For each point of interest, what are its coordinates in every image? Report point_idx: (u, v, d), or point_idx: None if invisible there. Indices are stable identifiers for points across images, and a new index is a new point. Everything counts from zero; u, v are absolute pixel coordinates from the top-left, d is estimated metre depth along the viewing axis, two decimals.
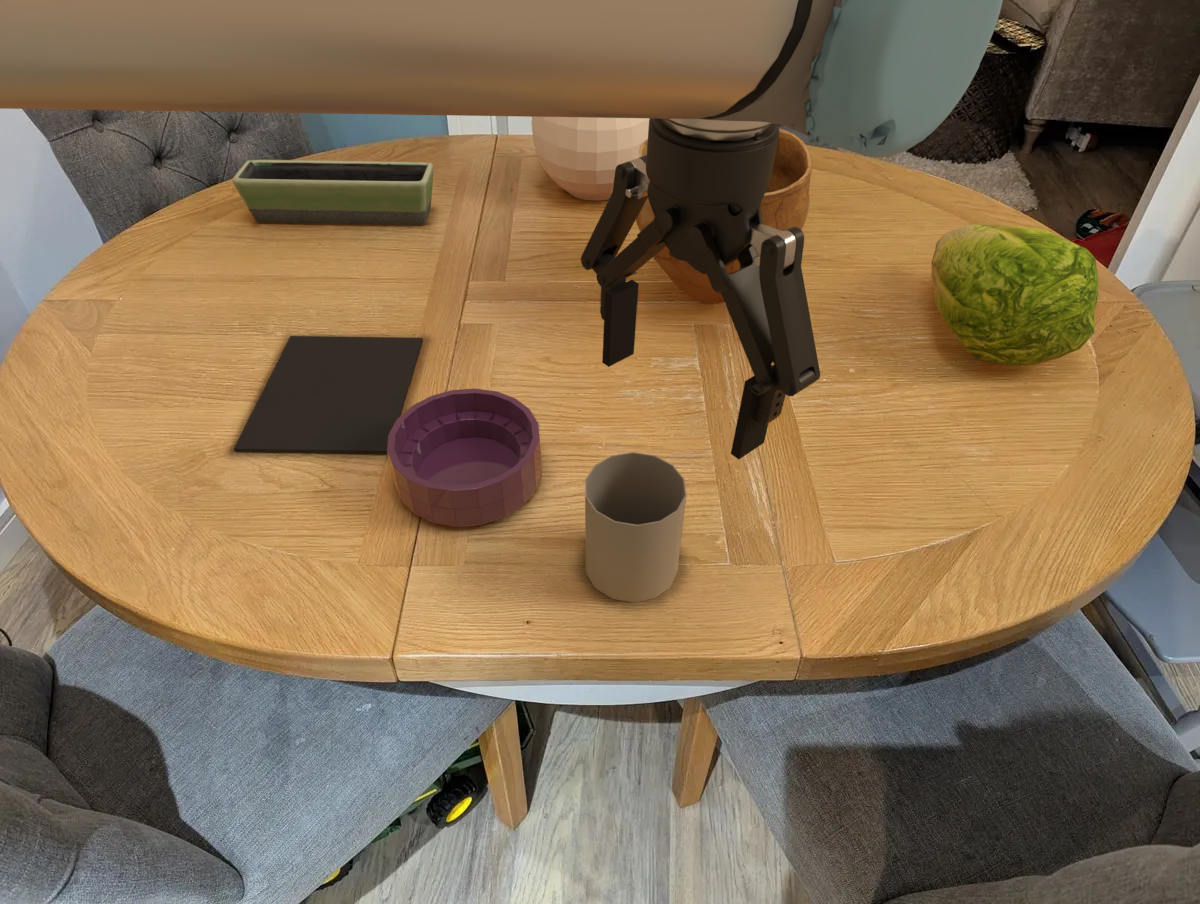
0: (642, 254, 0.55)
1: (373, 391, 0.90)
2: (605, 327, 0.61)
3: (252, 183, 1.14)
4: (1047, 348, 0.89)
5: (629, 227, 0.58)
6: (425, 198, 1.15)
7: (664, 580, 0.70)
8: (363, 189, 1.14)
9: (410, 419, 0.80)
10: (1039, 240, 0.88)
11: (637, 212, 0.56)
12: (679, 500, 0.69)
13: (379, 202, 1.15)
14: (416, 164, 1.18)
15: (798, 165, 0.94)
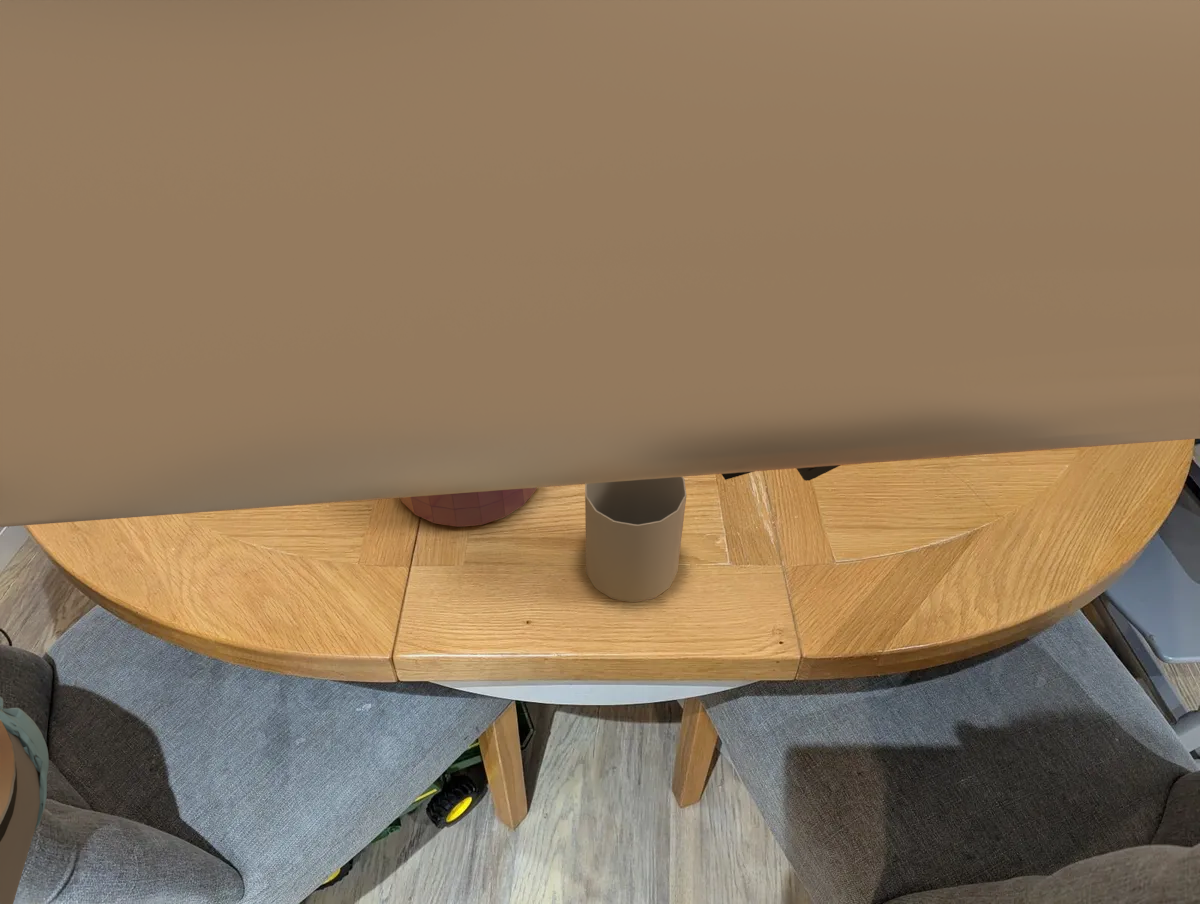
0: None
1: None
2: None
3: None
4: None
5: None
6: None
7: (664, 580, 0.70)
8: None
9: None
10: None
11: None
12: (679, 500, 0.69)
13: None
14: None
15: None
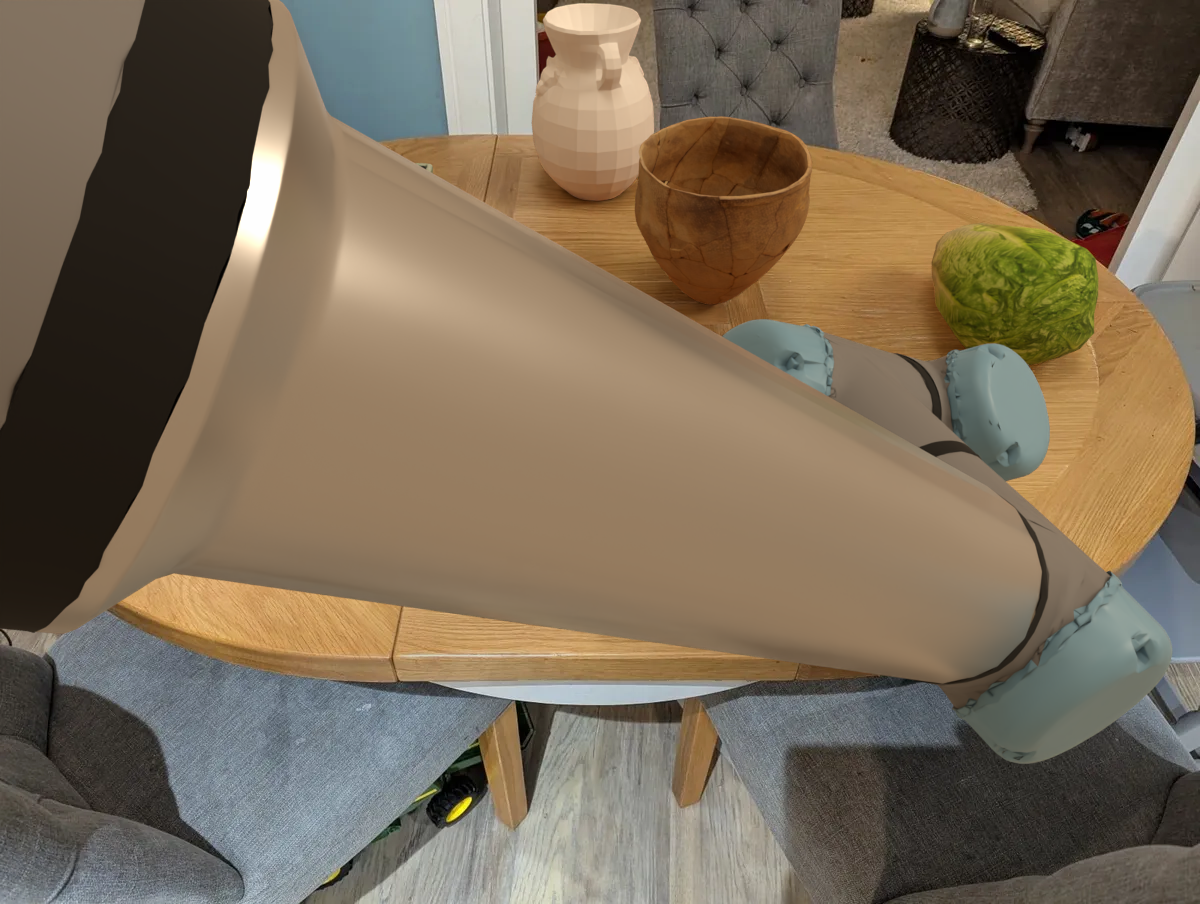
0: None
1: None
2: None
3: None
4: (1047, 348, 0.89)
5: None
6: None
7: None
8: None
9: None
10: (1039, 240, 0.88)
11: None
12: None
13: None
14: None
15: (798, 165, 0.94)
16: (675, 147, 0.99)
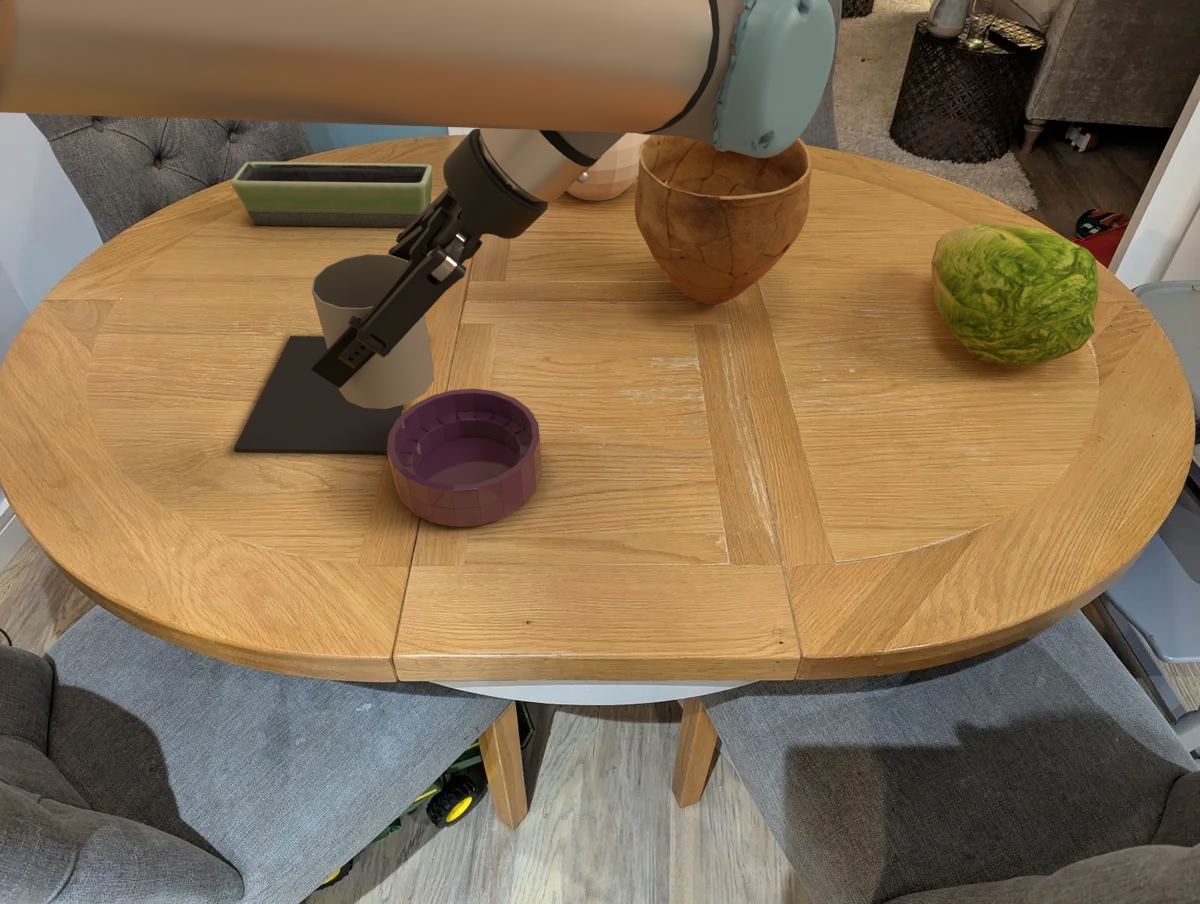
0: (419, 231, 0.65)
1: None
2: None
3: (251, 185, 1.13)
4: (1047, 348, 0.89)
5: None
6: (424, 200, 1.15)
7: (427, 370, 0.70)
8: (362, 191, 1.13)
9: (410, 419, 0.80)
10: (1039, 240, 0.88)
11: None
12: None
13: (378, 204, 1.15)
14: (415, 166, 1.17)
15: (798, 165, 0.94)
16: (675, 147, 0.99)
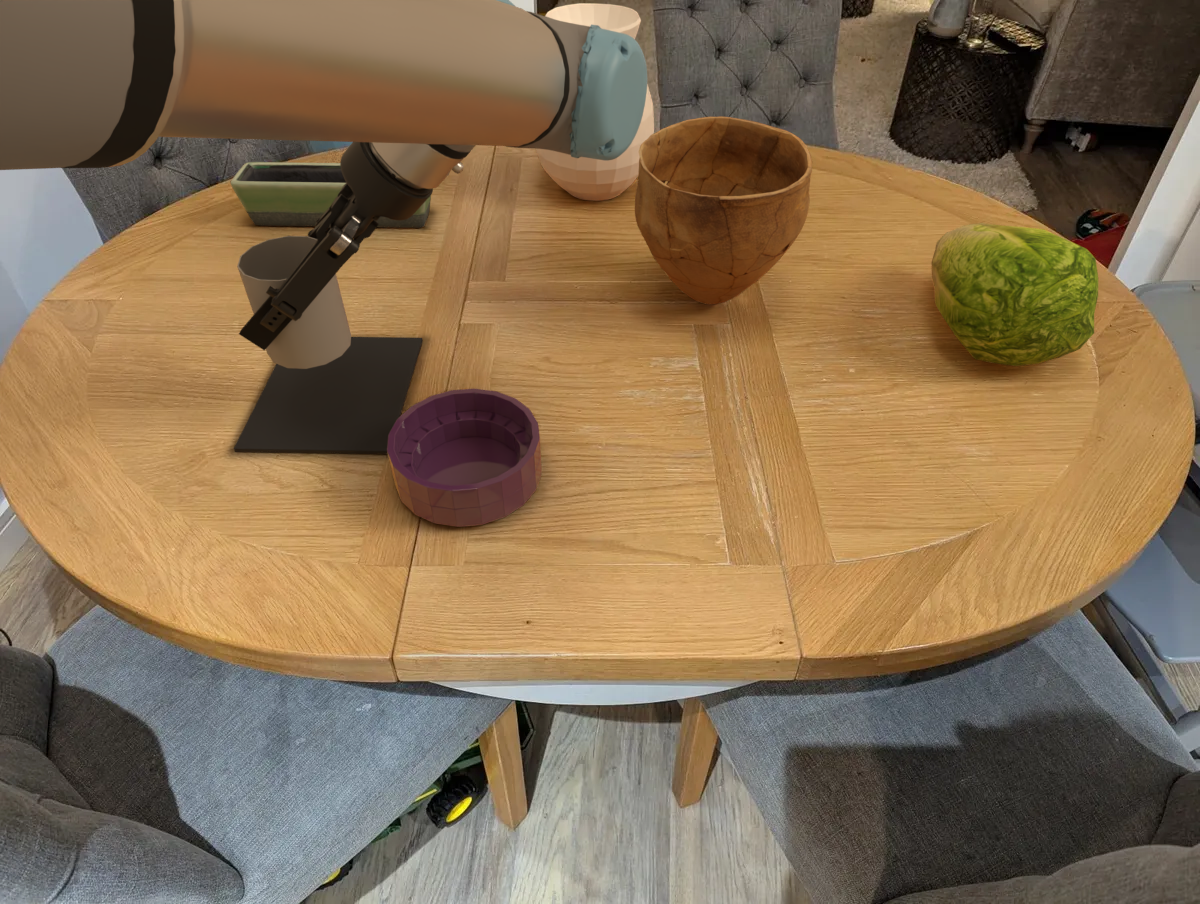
0: None
1: (373, 391, 0.90)
2: None
3: (250, 186, 1.13)
4: (1047, 348, 0.89)
5: None
6: None
7: (343, 336, 0.81)
8: None
9: (410, 419, 0.80)
10: (1039, 240, 0.88)
11: None
12: None
13: None
14: None
15: (798, 165, 0.94)
16: (675, 147, 0.99)
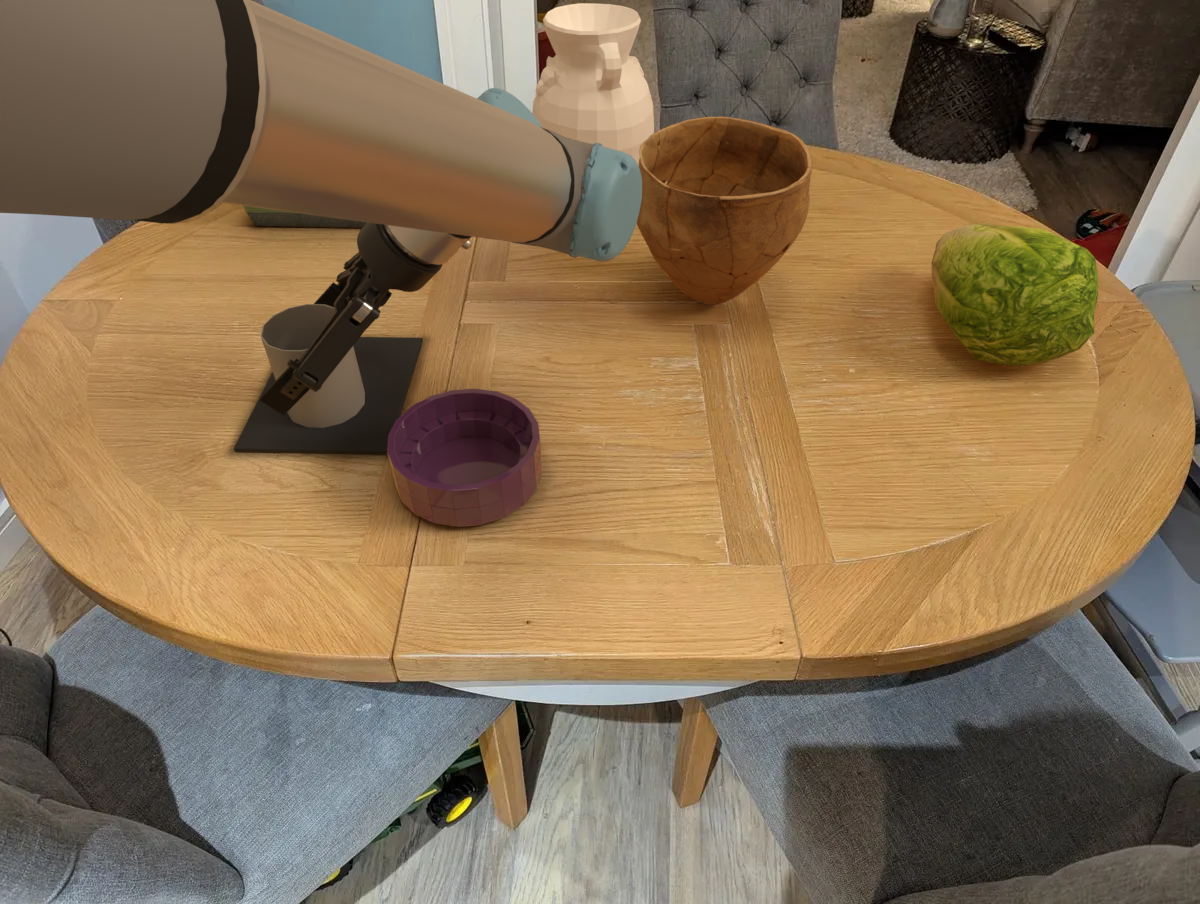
0: (350, 273, 0.82)
1: (373, 391, 0.90)
2: (317, 300, 0.88)
3: None
4: (1047, 348, 0.89)
5: None
6: None
7: (358, 396, 0.87)
8: None
9: (410, 419, 0.80)
10: (1039, 240, 0.88)
11: None
12: None
13: None
14: None
15: (798, 165, 0.94)
16: (675, 147, 0.99)
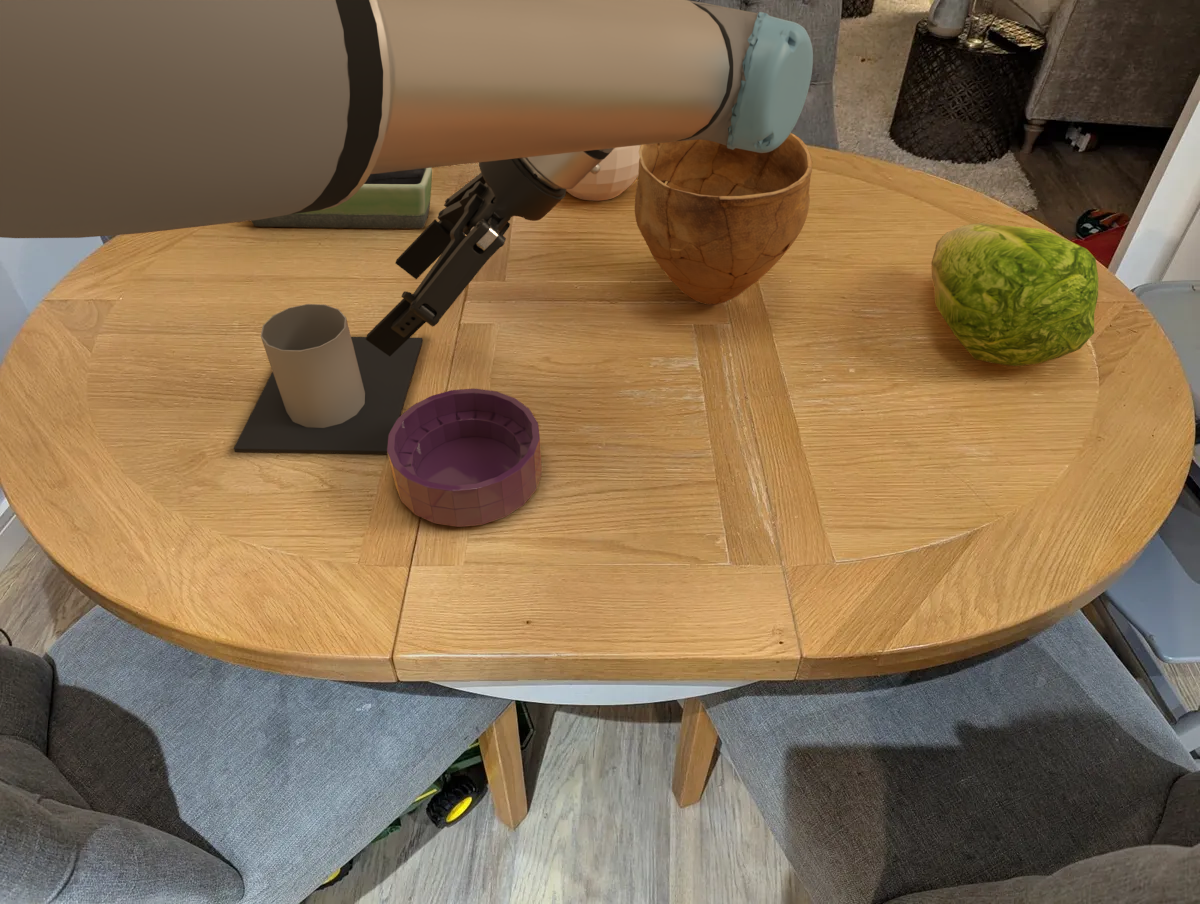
0: (459, 206, 0.76)
1: (373, 391, 0.90)
2: None
3: None
4: (1047, 348, 0.89)
5: None
6: (424, 201, 1.15)
7: (358, 396, 0.87)
8: (361, 192, 1.13)
9: (410, 419, 0.80)
10: (1039, 240, 0.88)
11: None
12: (342, 331, 0.86)
13: (378, 205, 1.15)
14: None
15: (798, 165, 0.94)
16: (675, 147, 0.99)
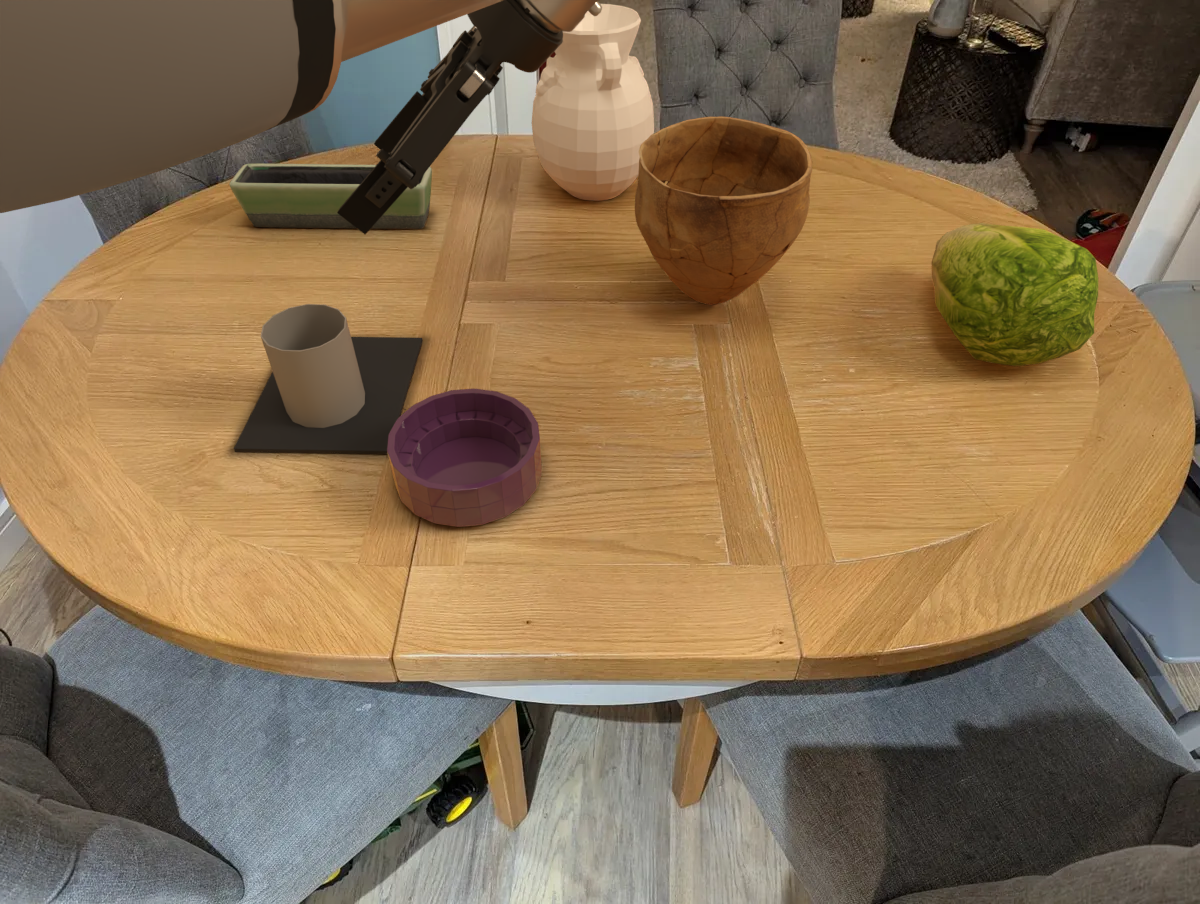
0: (443, 67, 0.68)
1: (373, 391, 0.90)
2: (396, 116, 0.74)
3: (249, 187, 1.13)
4: (1047, 348, 0.89)
5: None
6: (424, 201, 1.14)
7: (358, 396, 0.87)
8: None
9: (410, 419, 0.80)
10: (1039, 240, 0.88)
11: None
12: (342, 331, 0.86)
13: None
14: None
15: (798, 165, 0.94)
16: (675, 147, 0.99)
